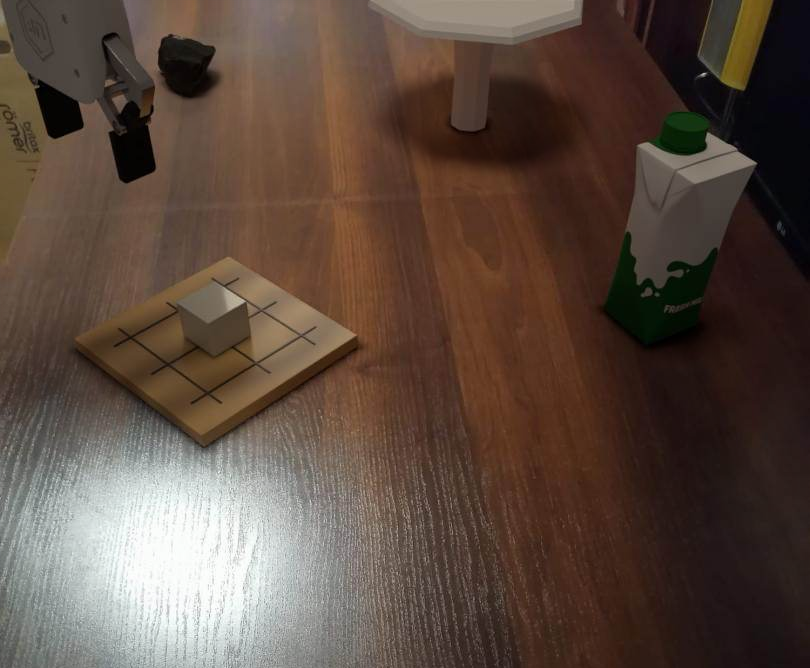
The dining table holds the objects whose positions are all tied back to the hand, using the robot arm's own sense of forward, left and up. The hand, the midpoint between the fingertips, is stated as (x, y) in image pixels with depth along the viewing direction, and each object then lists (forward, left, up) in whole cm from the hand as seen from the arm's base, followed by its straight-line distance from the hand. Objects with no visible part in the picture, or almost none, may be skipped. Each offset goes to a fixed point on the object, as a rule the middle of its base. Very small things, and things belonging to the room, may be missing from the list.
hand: (101, 154), depth 70 cm
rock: (-46, +41, -21) cm, 65 cm away
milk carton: (+33, +40, -21) cm, 56 cm away
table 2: (-9, +60, -21) cm, 64 cm away
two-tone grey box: (+4, +5, -19) cm, 20 cm away
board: (+4, +5, -21) cm, 22 cm away
